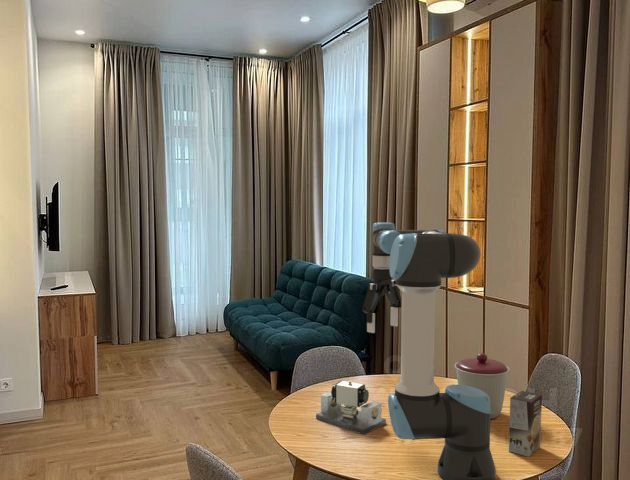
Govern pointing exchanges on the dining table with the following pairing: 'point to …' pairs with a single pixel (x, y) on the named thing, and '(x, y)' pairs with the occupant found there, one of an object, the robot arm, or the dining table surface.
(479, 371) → the canister
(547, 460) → the dining table surface
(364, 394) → the pneumatic valve
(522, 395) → the coffee box
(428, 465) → the dining table surface
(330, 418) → the fittings plate
